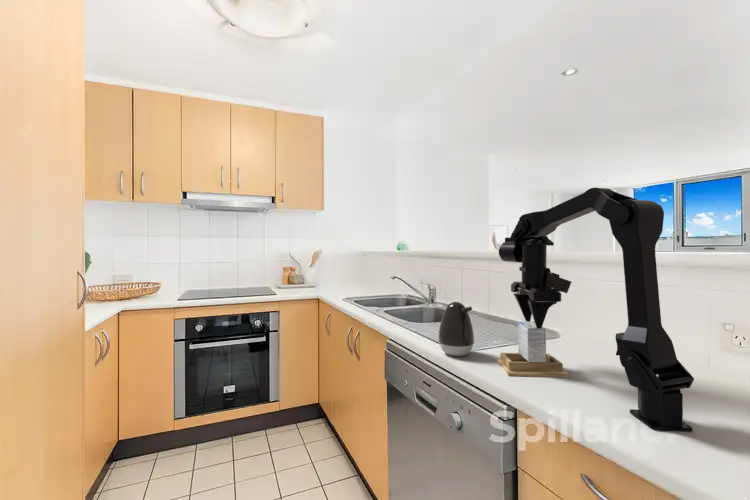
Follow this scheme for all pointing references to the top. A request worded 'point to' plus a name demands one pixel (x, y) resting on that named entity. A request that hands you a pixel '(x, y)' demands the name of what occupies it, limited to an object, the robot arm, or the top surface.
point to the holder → (531, 366)
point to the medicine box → (532, 342)
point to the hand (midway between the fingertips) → (533, 324)
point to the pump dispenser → (456, 330)
